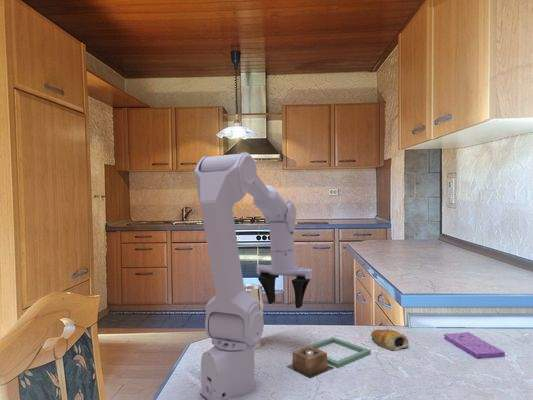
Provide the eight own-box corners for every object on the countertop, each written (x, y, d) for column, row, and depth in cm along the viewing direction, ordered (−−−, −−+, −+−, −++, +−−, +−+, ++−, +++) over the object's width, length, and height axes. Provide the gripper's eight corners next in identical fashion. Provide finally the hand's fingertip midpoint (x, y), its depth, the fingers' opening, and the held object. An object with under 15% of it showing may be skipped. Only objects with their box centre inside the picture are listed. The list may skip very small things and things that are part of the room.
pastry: (364, 340, 93) (364, 325, 93) (385, 336, 96) (384, 321, 96) (390, 353, 84) (389, 336, 85) (412, 348, 87) (411, 332, 87)
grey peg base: (310, 384, 70) (309, 361, 70) (286, 372, 75) (285, 350, 75) (334, 373, 74) (333, 352, 74) (310, 362, 80) (309, 342, 80)
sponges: (469, 339, 93) (468, 331, 93) (506, 359, 81) (506, 351, 81) (443, 340, 92) (443, 333, 92) (476, 361, 80) (476, 352, 80)
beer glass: (251, 357, 83) (250, 291, 83) (229, 350, 87) (228, 288, 88) (269, 347, 89) (268, 286, 89) (248, 341, 93) (247, 282, 93)
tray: (337, 373, 74) (337, 364, 74) (300, 357, 83) (300, 348, 83) (370, 359, 81) (370, 350, 81) (333, 345, 89) (332, 337, 89)
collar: (309, 374, 71) (309, 359, 71) (292, 366, 75) (292, 351, 75) (327, 367, 74) (327, 352, 74) (309, 359, 78) (309, 345, 78)
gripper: (316, 248, 88) (319, 303, 89) (265, 245, 96) (268, 296, 96) (303, 253, 82) (306, 313, 83) (250, 250, 90) (253, 304, 90)
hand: (285, 304), depth 89 cm, fingers open, 7 cm apart
